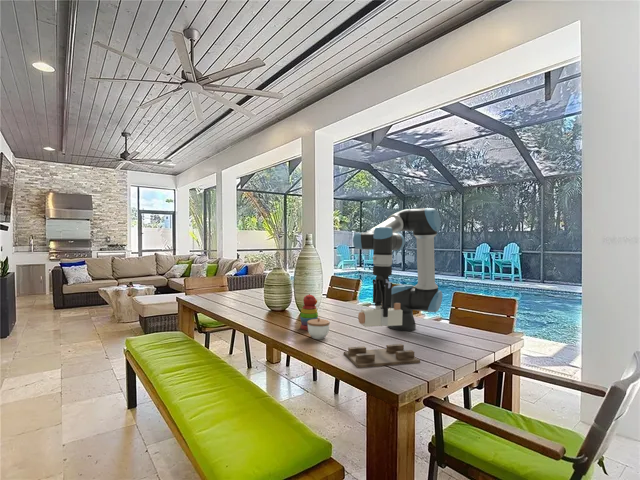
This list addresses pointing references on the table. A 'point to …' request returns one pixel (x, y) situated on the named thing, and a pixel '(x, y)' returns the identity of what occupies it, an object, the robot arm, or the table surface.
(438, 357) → the table surface
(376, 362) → the cradle
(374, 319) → the block
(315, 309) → the stacking bear
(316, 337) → the lidded jar
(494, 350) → the table surface
